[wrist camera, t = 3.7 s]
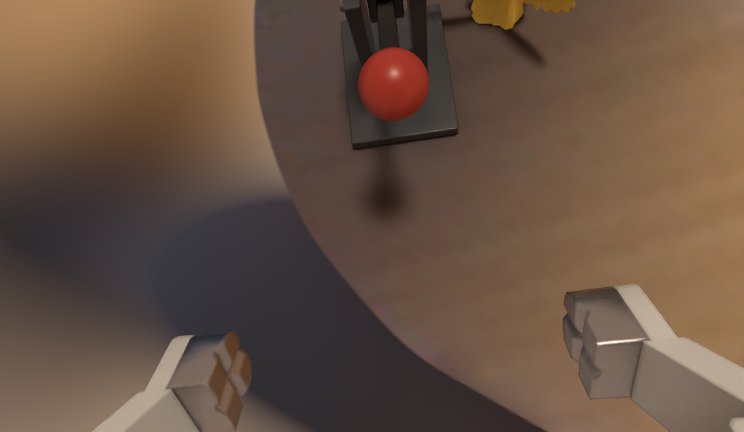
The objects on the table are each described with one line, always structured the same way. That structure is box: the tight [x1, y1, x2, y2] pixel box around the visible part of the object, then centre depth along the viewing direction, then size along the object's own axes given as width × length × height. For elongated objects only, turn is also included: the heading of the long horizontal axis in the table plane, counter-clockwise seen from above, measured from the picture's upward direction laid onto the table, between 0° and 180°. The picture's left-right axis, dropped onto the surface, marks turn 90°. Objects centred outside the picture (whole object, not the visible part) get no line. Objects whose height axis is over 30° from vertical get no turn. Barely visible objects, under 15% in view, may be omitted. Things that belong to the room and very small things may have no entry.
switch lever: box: [358, 0, 429, 121], centre depth 25 cm, size 13×4×4 cm, turn 6°
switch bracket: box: [338, 0, 459, 149], centre depth 33 cm, size 12×9×13 cm
